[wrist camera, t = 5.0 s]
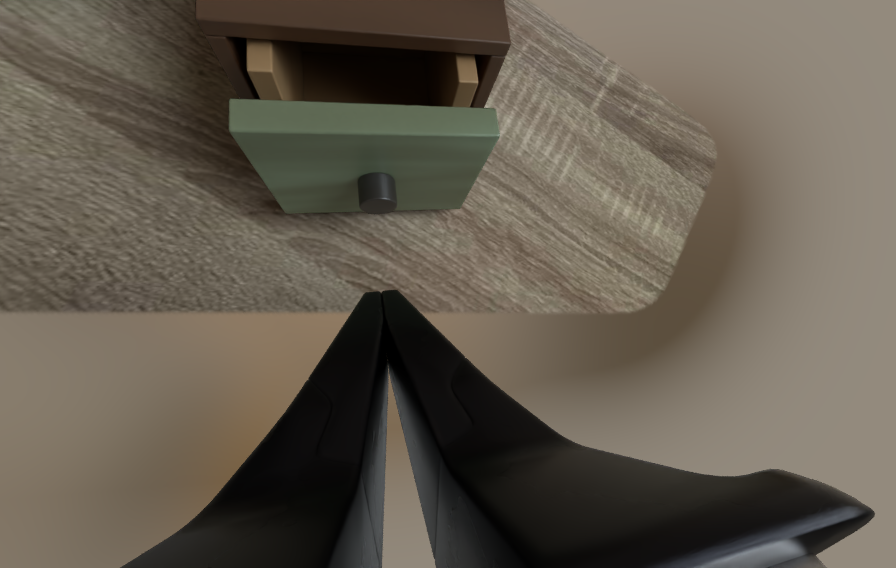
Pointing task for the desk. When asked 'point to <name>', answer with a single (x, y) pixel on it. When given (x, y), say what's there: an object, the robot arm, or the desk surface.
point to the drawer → (362, 126)
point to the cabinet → (359, 30)
